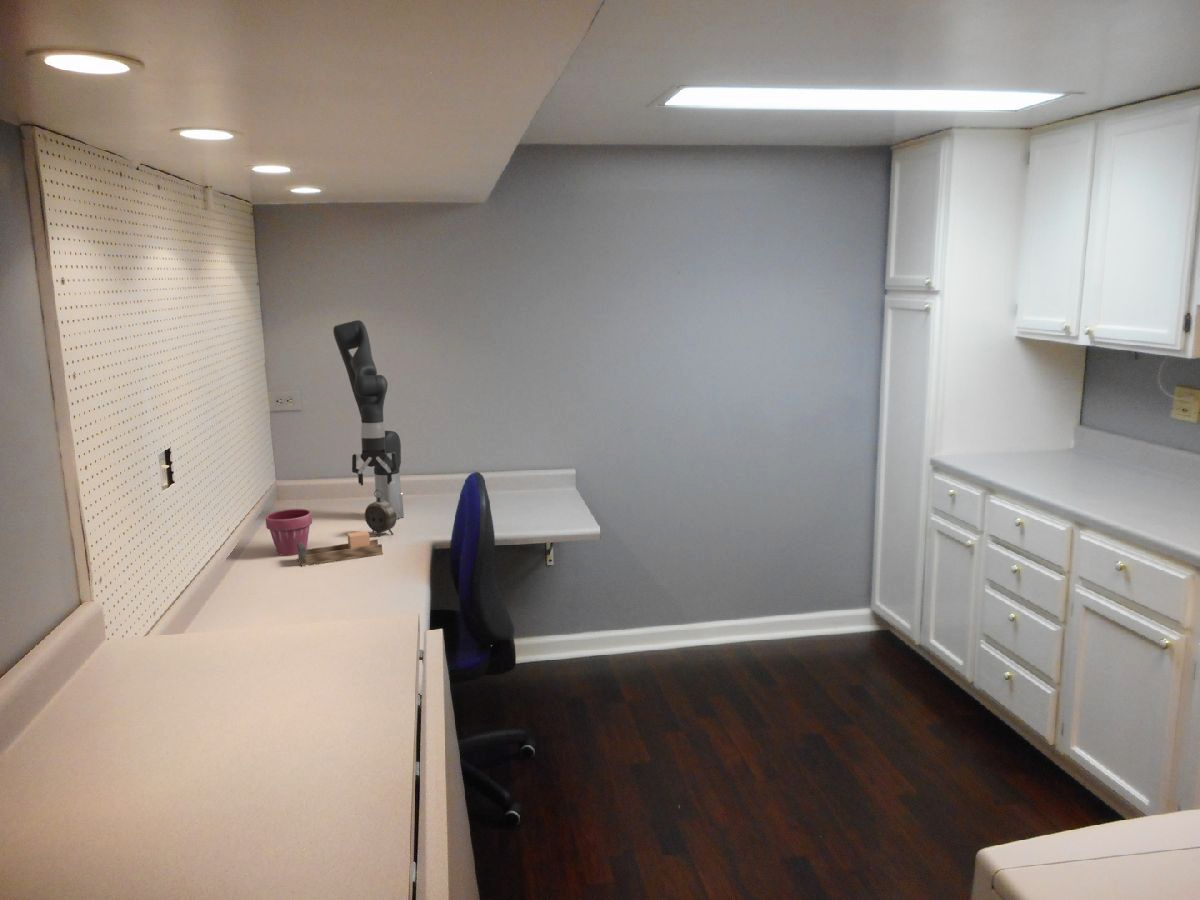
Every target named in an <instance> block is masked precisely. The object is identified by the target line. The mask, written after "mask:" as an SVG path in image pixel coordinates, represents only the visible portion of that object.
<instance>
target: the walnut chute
mask: <svg viewBox="0 0 1200 900" xmlns="http://www.w3.org/2000/svg"><path fill="white" fill-rule="evenodd" d="M382 545H383V544H379V541H378V539H372V540H371V539H370V546H365V547H358V548H351V549H349V546H348V543H341V544H335V545H329V546H328V545H327V546H322V547H321V546H319V547H314V548H307V549H306V550H305V547H304V545H303V543H302V542H301V543H297V546H298V554H297V555H298V557H297V558H298V559H297V560H298V561H299V563H300V565H302V566H303V567H307V566H306V565H309V566H315V565H314V564H316V565H320V563H323V564H329V563H334V562H335V561H336V562H342V560H343V561H347V560H348V561H349V560H355V558H356V559H361V558H362V559H363V558H367V557H375V556H382V555H383V554H384V552H383V546H382ZM302 566H301V567H302Z"/></svg>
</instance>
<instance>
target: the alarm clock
mask: <svg viewBox="0 0 1200 900" xmlns="http://www.w3.org/2000/svg"><path fill="white" fill-rule="evenodd" d="M377 490H379V489H377ZM377 490H375V491H374V492H373V495H374V497H375V499H376V498H377V497H376V491H377ZM379 491H380V492H381V493H382V491H381V490H379ZM382 495H383V494H382ZM381 497H382V496H381ZM377 499H378V501H376V500H375V501H373V502H371V503H369V504H368V505H367V506H366V508H365V511H364V519H365V522H366V524H367V525H368V527H369V528H370V530H371V532H372V533H374V532H375V537H376V536H378V535H379V534H381V533H385V532H387V531H388V532H389V533H390V534H391V535H392V536H393V535H394V533H393V531H392V529H393V528H395V525H396V523H397V519H396V512H395V510H394V508H393V506H392V505H391V504H390V503H389V502H387V501H385V500H380V497H378V498H377Z"/></svg>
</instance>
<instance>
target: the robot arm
mask: <svg viewBox="0 0 1200 900" xmlns="http://www.w3.org/2000/svg"><path fill="white" fill-rule="evenodd" d="M332 329H333V330H332V331H333V336H334V340H335V342H336V345H337V348H338V350H339V354H340V355H341V359H342V361H343V363H344V366H345V369H346V373H347V375H348V380H349V383H350V387H351V391H352V394H353V396H354V397H353V398H354V399H355V402H356V405H357V408H358V411H359V415H360V419H361V420H360V421H361V425H360V436H361V438H360V439H361V440H360V441H361V454H359V453H358V454H357V453H353V454H352V455H351V458H352V459H351V462H352V463H351V471H352V473H355V474H357V477H358V479H357V481H358V484H359V485H360V486H364V474H363V472H364V470H365V469H366V468H367V467H369V468H372V467H373V474H374V475H373V476H374V487H375V488H374V489H375V491H376V490H377V489H379V490H381V491H382V493H381V492H380V491H379V490H377V491H376V492H375V495H376V497H377V498H378V497H380V500H385V501H387V502H389V503H390V504H391V505H392V506H393V508H394V510H395V512H396V520H399V519H401V517H403V518H404V517H405V513H404V498H403V492H402V491H401V490H402V487H401V475H400V474H401V473H400V468H401V464H402V463H401V462H402V449H401V447H402V444H401V438H400V435H399V434H398V433H397V432H396V431H394V430H385V424H384V403H385V399H386V395H387V391H388V387H389V386H388V385H389V384H388V380H387V378H386V377H385V376H384V375H383V374H378V373H377V371H378V370H377V368H376V367H377V366H376V364H375V362H374V360H373V356H372V351H371V350H372V348H371V344H370V337H369V333H368V330H367V328H366V326H365V323H364V322H363V321H362V320H360V319H359V320H353V321H348V322H345V323H341V324H340V323H339V324H337V325H335V326H333V328H332ZM353 349H356V350H355V352H354V354H353V355H352V354H351V352H350V350H353ZM360 459H361V460H362V461H363V463H362V465H361V466H360V468H357V462H359V460H360ZM382 494H383V495H382ZM381 496H382V497H381ZM376 497H375V502H376V501H378V499H377V498H376ZM398 518H399V519H398Z"/></svg>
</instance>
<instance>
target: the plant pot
mask: <svg viewBox="0 0 1200 900" xmlns="http://www.w3.org/2000/svg"><path fill="white" fill-rule="evenodd" d="M312 518H313V517H312V512H311V510H309V509H303V508H295V509H294V508H293V509H283V510H279V511H274V512H271V513H268V514H267V515H266V516H265V526H266V529H267V530H269V532H270V535H271V539H272V542H273V544H274V547H275V551H276V553H277V554H278V555H279V554H283V555H282V556H293V554H295V555H298V546H297V543H301V542H302V543H303V545H304V547H305V550H306V549H308V541H309V535H310V534H309V533H310V526H311V525H312V523H313V519H312Z"/></svg>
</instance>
